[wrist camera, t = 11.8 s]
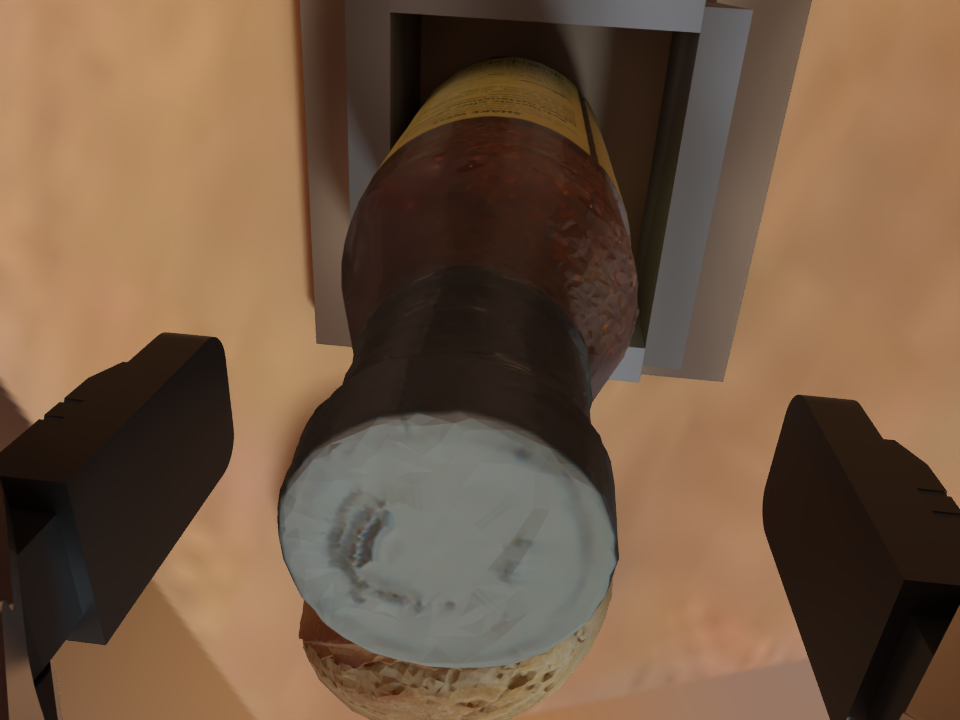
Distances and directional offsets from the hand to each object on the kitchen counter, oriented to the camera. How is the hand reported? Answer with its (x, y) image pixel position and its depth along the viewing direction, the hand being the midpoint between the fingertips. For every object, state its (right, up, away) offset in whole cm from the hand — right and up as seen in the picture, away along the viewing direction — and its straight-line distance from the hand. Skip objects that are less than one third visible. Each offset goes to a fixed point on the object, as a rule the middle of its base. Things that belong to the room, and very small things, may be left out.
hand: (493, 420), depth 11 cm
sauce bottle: (+1, +8, +15) cm, 17 cm away
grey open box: (+2, +9, +17) cm, 19 cm away
